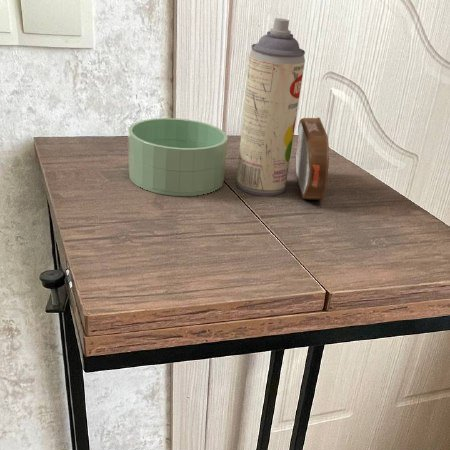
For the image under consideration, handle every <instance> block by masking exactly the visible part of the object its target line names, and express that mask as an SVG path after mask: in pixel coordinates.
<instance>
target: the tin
mask: <svg viewBox="0 0 450 450" xmlns="http://www.w3.org/2000/svg"><path fill="white" fill-rule="evenodd" d="M297 134H298V135H297V146H296V151H295V157H294V159H295V160H294V161H295V163H294V164H295V165H294V167H295V176H296V181H297V184H298V189H299V192H300V195H301V198H302V199H303V200H314V201H315V200H317V201H322V200H324V197H325V194H326V190H327V185H328V179H329V178H328V177H329V176H328V175H329V166H330V165H329V164H330V145H329V144H330V142H329V137H328V134H327V132H326V130H325V127H324V124H323V122H322V120H321V117H320V116H319V117H302V118H300V120H299V122H298V126H297Z"/></svg>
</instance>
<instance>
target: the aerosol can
mask: <svg viewBox="0 0 450 450" xmlns="http://www.w3.org/2000/svg"><path fill="white" fill-rule="evenodd" d="M289 25H290V19H287V18H281V17H276V18H274V22H273V27H272V28H270V30H268V31H266V34H264V35H262V36H261V37H260V38H259V40H258V42H257V43H252V44H251V50H250V52H249V54H248V55H249V56H248V66H247V74H246V76H247V77H246V84H245V94H244V103H243V113H242V123H241V125H242V126H241V131H240V132H241V134H240V142H239V143H240V144H239V152H238V162H237V170H236V171H237V173H236V182H235V184H236V187H237V188H238V189H239V190H240V191H242V192H245V193H247V194H250V195H254V196H262V197H274V196H278V195H281V194H283V193H285V191H286V185H287V181H288V173H289V167H290V161H291V155H292V147H293V141H294V136H295V129H296V122H297V116H298V109H299V102H300V96H301V89H302V82H303V76H304V75H303V74H304V70H305V64H306V63H305V62H306V60H305V54H306V51H305V50H304V49H302V48H300V44H299V41H298V40H297V39H296V38H295V37H294V34H293V33H292V31H291V30H289Z"/></svg>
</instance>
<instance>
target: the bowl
mask: <svg viewBox="0 0 450 450" xmlns="http://www.w3.org/2000/svg"><path fill="white" fill-rule="evenodd" d="M228 137H229V135H228V134H227V133H226V131H224V130H222V129H221V128H219V127H217V126H215V125H213V124H210V123H206V122H202V121H199V120H193V119H189V118H188V119H186V118H177V117H162V118H161V117H159V118H158V117H157V118H149V119H142V120H139V121H136V122H134V123H133V124H131V125H130V126H129V127H128V130H127V148H128V149H127V150H128V151H127V152H128V155H127V157H128V160H127V161H128V177H129V180H130V181H131V183H132V184H134V185H135V186H137V187H139V188H140V187H141V188H140V189H142V188H143V190H145V191H147V190H148V192H151V193H155V194H158V195H163V196H164V195H165V196H171V197H172V196H173V197H198V196H204V195H208V194H207V193H209V194H211V193H210V192H212V193H214V192H216V191H215V190H217V189H218V190H220V189H221V188H222V187H223V186H224V184H225V183H224V182H225V174H226V173H225V172H226V162H227V161H226V160H227V151H228V150H227V149H228V140H229V139H228ZM219 188H220V189H219ZM218 190H217V191H218ZM213 191H214V192H213ZM203 194H204V195H203ZM197 195H198V196H197Z"/></svg>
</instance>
